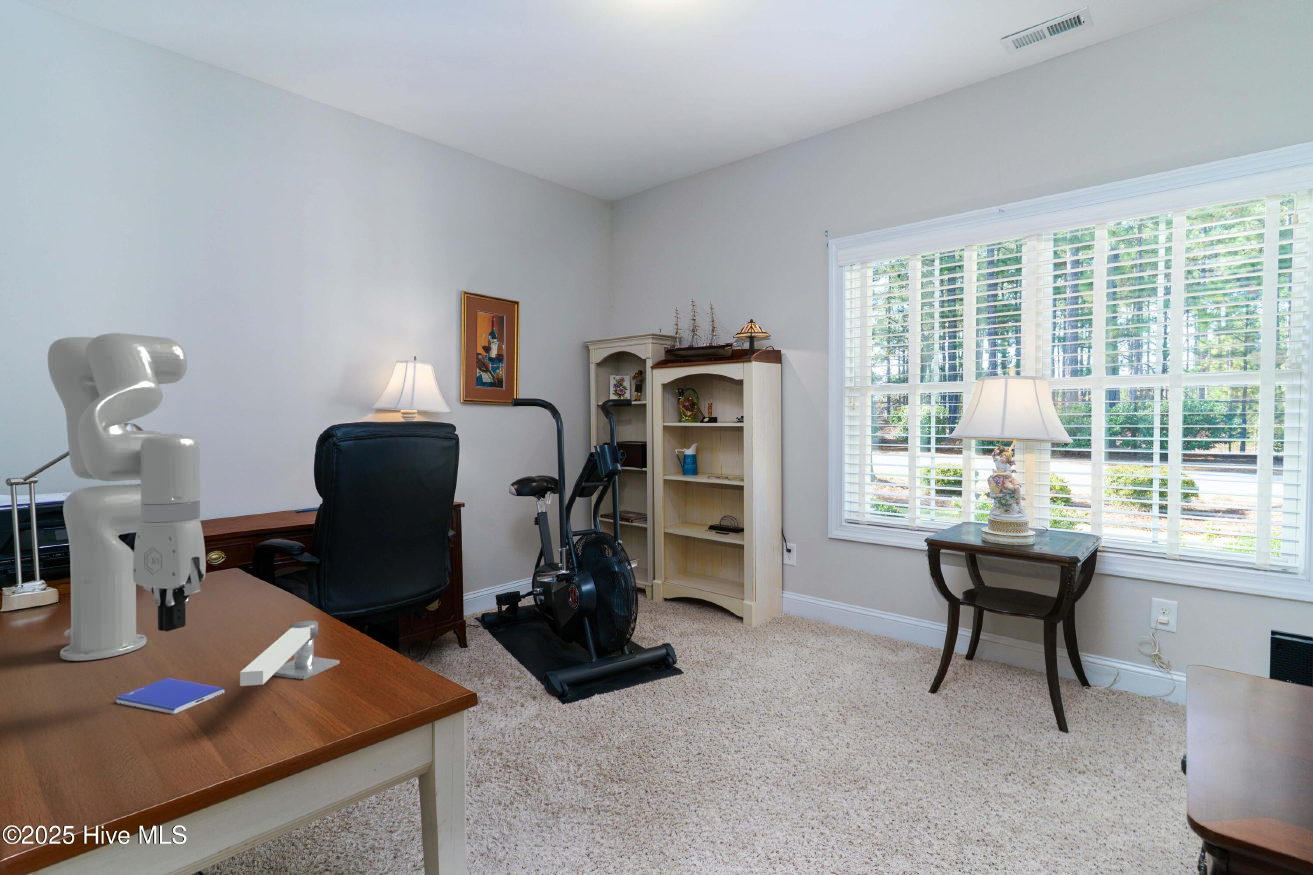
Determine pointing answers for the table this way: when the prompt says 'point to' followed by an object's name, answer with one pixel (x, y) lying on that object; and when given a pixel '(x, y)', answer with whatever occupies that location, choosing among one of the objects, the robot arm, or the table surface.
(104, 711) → the table surface
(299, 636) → the bar
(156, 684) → the hard drive
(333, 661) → the metal stand base
